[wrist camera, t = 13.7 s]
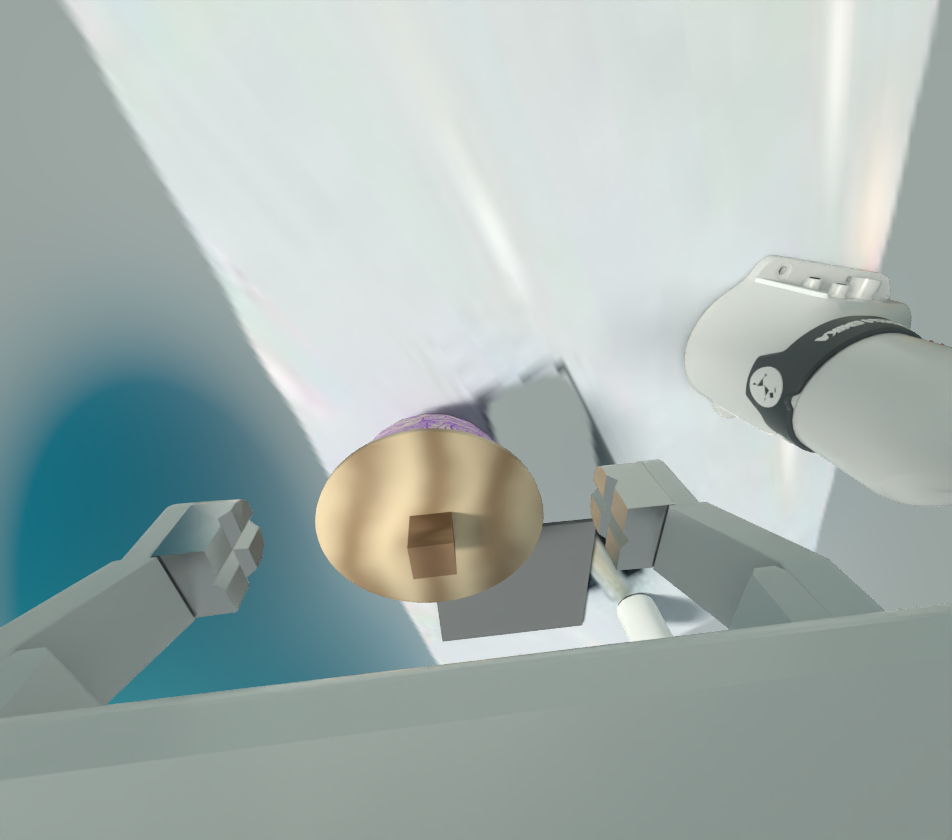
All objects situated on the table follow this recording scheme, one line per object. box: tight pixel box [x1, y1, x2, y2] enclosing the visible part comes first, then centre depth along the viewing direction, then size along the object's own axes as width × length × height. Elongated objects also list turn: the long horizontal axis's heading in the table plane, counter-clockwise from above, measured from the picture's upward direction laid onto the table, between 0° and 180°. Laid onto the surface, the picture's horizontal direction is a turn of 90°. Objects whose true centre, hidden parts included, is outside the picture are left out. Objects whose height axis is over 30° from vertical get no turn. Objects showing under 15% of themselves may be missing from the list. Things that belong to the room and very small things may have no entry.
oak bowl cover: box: [315, 428, 543, 603], centre depth 38 cm, size 22×22×5 cm
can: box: [617, 594, 673, 642], centre depth 63 cm, size 6×6×12 cm
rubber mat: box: [437, 519, 596, 641], centre depth 62 cm, size 24×24×1 cm
